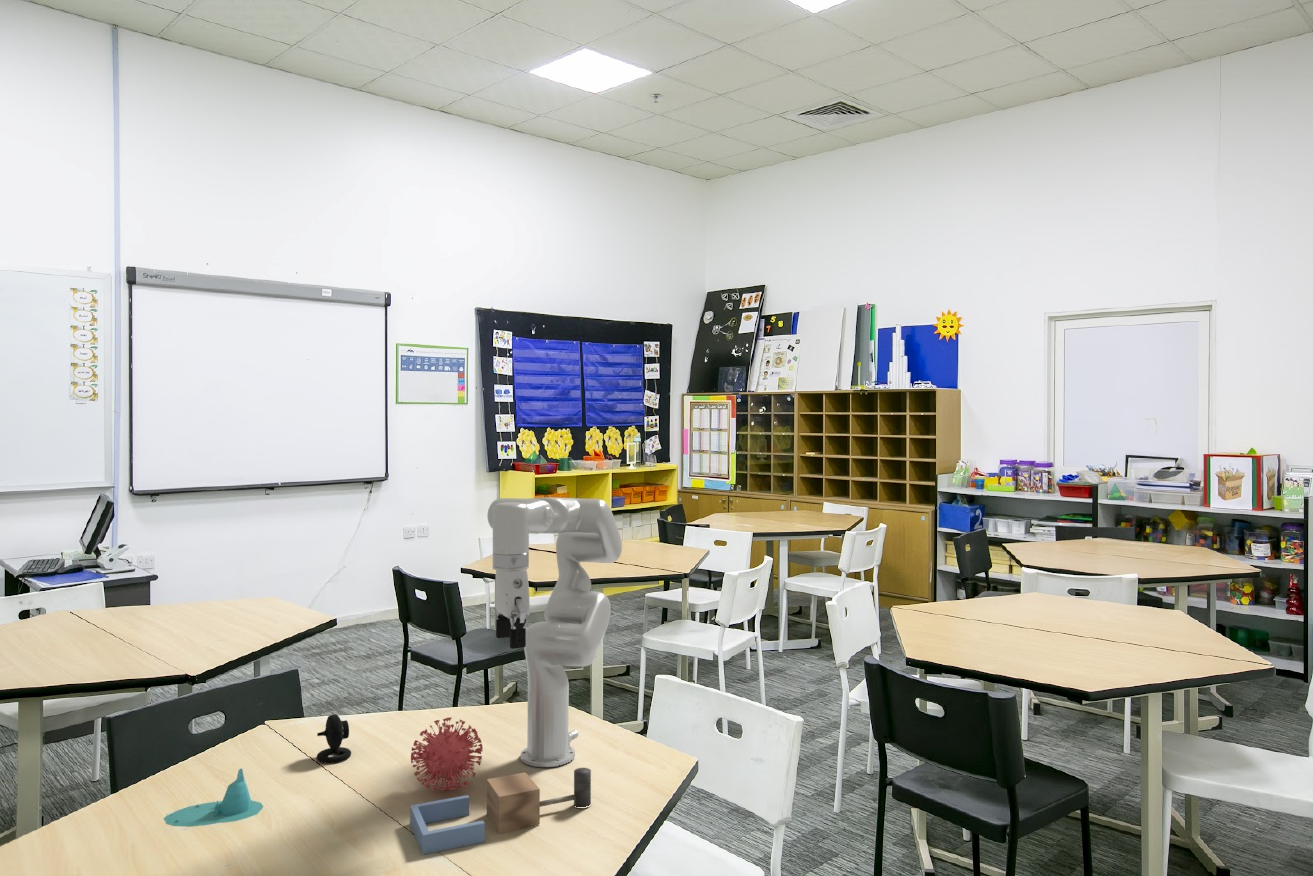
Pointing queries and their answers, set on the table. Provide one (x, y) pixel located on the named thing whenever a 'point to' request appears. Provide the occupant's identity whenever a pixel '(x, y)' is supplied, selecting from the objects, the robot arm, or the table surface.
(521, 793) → the tether block
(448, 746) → the virus model
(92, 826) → the table surface
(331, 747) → the webcam
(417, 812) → the blue-grey u-shaped piece
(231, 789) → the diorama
